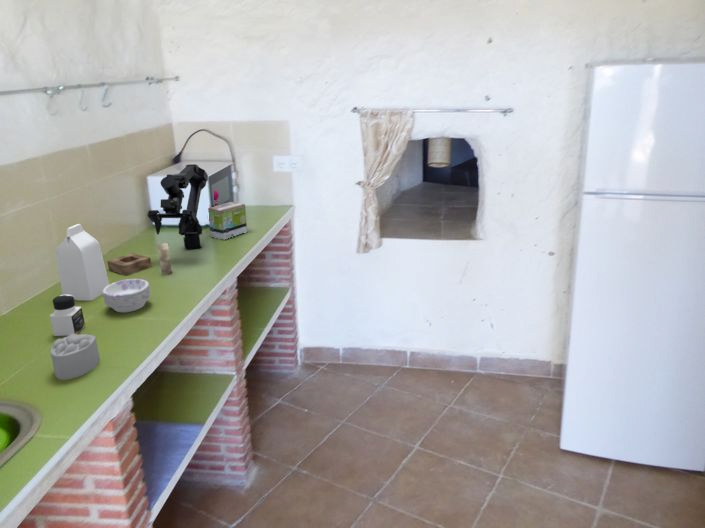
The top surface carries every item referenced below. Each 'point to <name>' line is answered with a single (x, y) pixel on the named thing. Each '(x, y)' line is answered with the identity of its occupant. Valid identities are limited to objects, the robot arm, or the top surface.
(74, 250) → the milk
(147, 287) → the white patterned bowl
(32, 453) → the top surface
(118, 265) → the brown rectangular frame
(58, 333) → the medicine bottle
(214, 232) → the tea box
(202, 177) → the robot arm
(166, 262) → the peg
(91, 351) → the lumpy-topped squat cylinder
